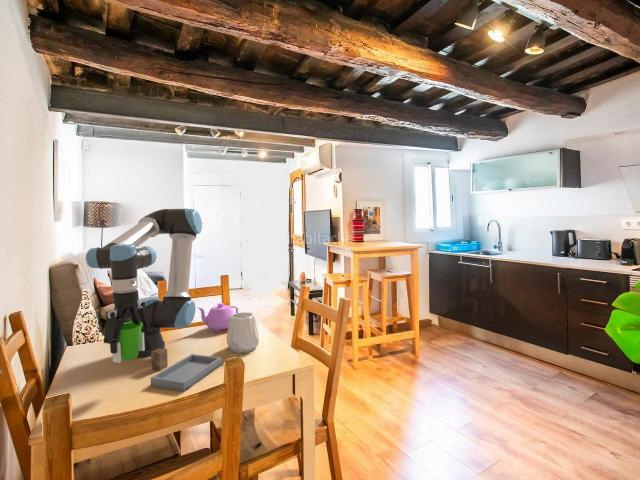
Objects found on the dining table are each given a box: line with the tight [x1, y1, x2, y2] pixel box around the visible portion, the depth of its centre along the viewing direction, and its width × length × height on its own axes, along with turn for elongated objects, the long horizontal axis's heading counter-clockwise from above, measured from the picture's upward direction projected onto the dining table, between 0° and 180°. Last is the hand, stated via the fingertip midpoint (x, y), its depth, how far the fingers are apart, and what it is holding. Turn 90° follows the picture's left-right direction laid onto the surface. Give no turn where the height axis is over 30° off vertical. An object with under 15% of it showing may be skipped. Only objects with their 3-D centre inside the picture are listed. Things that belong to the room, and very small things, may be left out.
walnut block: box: [150, 348, 169, 372], centre depth 133 cm, size 4×4×7 cm
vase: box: [226, 312, 260, 354], centre depth 152 cm, size 14×14×15 cm
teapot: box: [197, 302, 239, 334], centre depth 180 cm, size 22×16×14 cm
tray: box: [150, 353, 223, 392], centre depth 126 cm, size 14×22×3 cm, turn 163°
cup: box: [118, 321, 143, 361], centre depth 115 cm, size 9×9×11 cm
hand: (129, 355), depth 116 cm, fingers closed on cup, 9 cm apart
